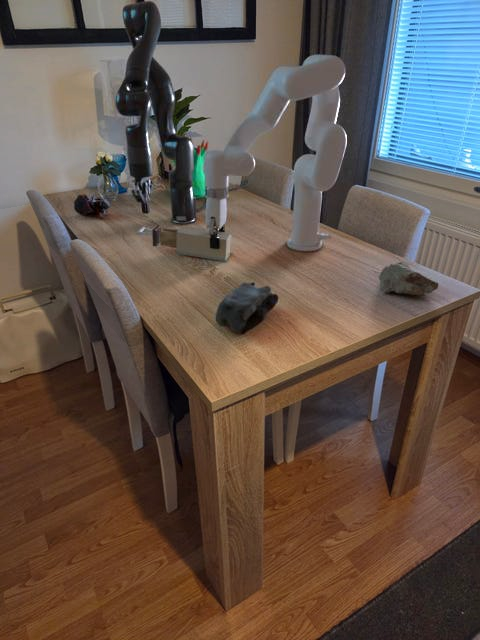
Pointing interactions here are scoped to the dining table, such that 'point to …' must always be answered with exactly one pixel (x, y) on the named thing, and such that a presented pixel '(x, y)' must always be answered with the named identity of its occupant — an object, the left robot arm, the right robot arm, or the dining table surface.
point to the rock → (245, 307)
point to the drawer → (162, 236)
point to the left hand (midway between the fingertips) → (145, 212)
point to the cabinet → (202, 243)
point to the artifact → (405, 280)
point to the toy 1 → (90, 206)
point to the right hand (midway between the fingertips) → (217, 244)
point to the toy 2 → (198, 170)
